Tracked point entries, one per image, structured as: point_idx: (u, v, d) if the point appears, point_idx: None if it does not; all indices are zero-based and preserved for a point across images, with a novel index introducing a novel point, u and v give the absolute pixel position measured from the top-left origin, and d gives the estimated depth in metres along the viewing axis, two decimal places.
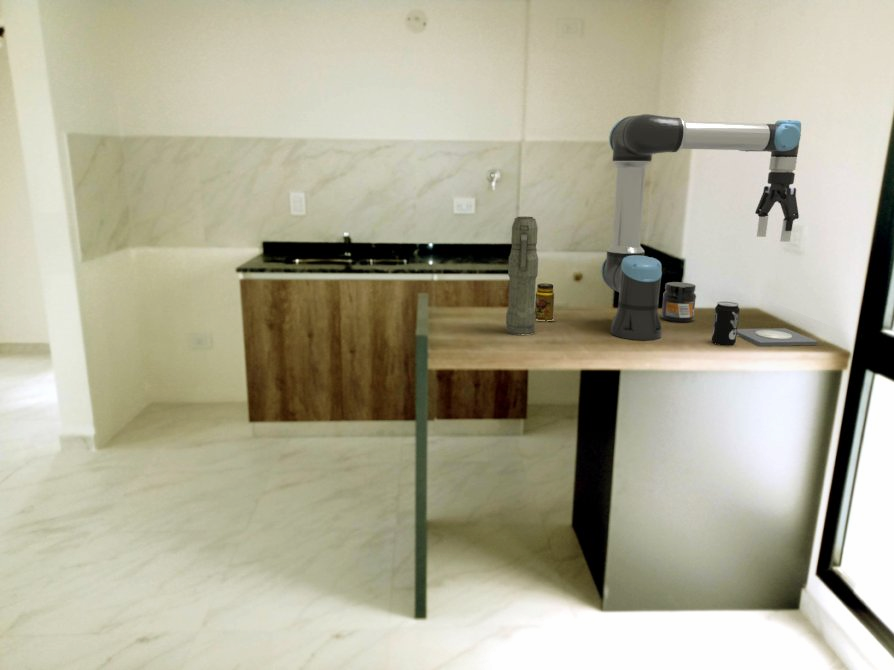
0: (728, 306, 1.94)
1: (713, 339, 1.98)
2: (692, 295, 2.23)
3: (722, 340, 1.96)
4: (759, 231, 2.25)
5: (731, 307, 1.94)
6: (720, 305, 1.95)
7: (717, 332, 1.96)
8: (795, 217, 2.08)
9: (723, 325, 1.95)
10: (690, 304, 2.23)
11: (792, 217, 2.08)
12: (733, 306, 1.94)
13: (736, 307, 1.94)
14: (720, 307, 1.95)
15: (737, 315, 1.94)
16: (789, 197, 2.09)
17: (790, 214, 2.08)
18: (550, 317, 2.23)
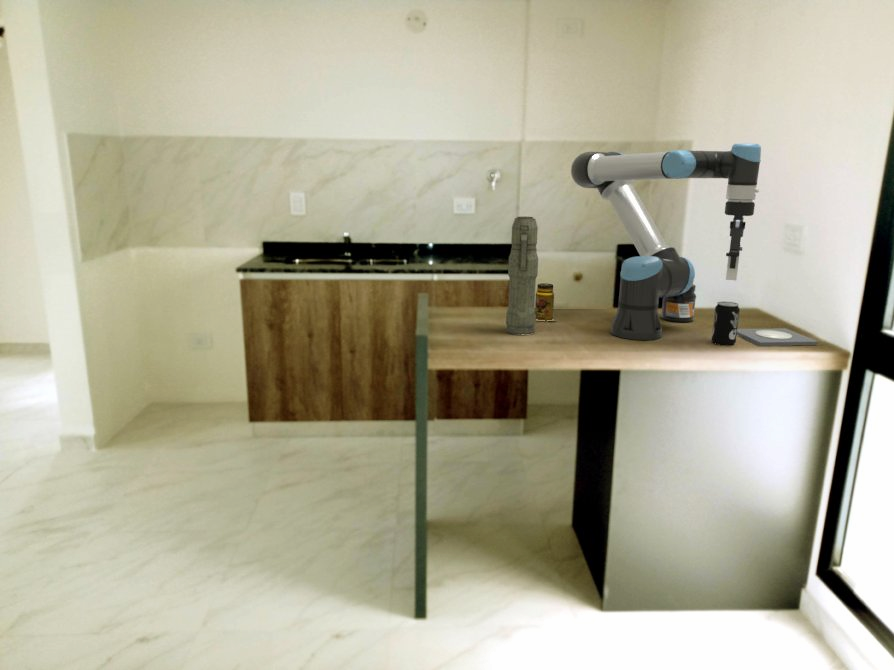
0: (728, 306, 1.94)
1: (713, 339, 1.98)
2: (692, 295, 2.23)
3: (722, 340, 1.96)
4: None
5: (731, 307, 1.94)
6: (720, 305, 1.95)
7: (717, 332, 1.96)
8: (734, 253, 1.83)
9: (723, 325, 1.95)
10: (690, 304, 2.23)
11: (731, 253, 1.84)
12: (733, 306, 1.94)
13: (736, 307, 1.94)
14: (720, 307, 1.95)
15: (737, 315, 1.94)
16: (733, 230, 1.85)
17: None
18: (550, 317, 2.23)
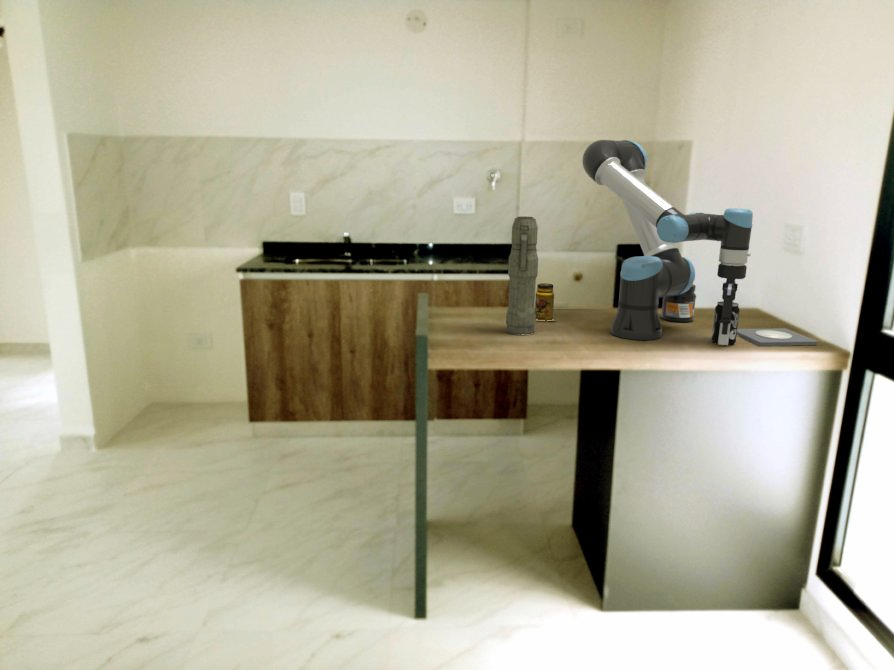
0: None
1: (713, 339, 1.98)
2: (692, 295, 2.23)
3: None
4: None
5: None
6: (720, 305, 1.95)
7: (717, 332, 1.96)
8: (726, 321, 1.91)
9: None
10: (690, 304, 2.23)
11: (722, 320, 1.91)
12: (733, 306, 1.94)
13: (736, 307, 1.94)
14: (720, 307, 1.95)
15: (737, 315, 1.94)
16: (724, 298, 1.90)
17: None
18: (550, 317, 2.23)
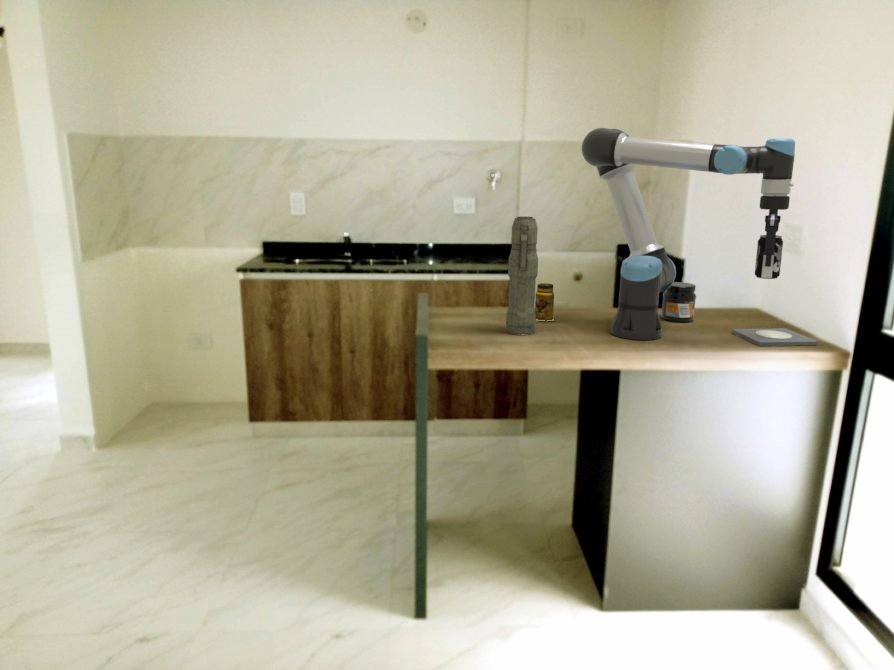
0: None
1: (756, 273, 1.97)
2: (692, 295, 2.23)
3: None
4: None
5: None
6: (763, 238, 1.94)
7: (761, 265, 1.95)
8: (769, 252, 1.90)
9: None
10: (690, 304, 2.23)
11: (766, 251, 1.90)
12: (776, 237, 1.92)
13: (779, 239, 1.92)
14: (763, 239, 1.94)
15: (781, 247, 1.93)
16: (767, 229, 1.89)
17: None
18: (550, 317, 2.23)
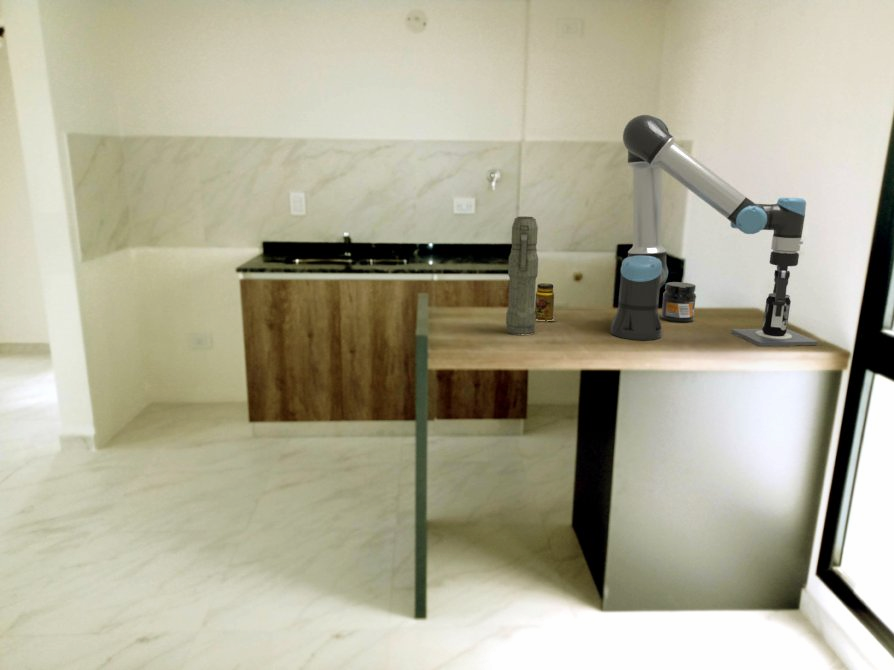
0: None
1: (764, 330, 2.04)
2: (692, 295, 2.23)
3: (773, 331, 2.01)
4: None
5: None
6: (772, 297, 2.01)
7: (769, 323, 2.02)
8: (780, 303, 1.93)
9: None
10: (690, 304, 2.23)
11: (777, 302, 1.93)
12: None
13: (787, 298, 1.99)
14: (772, 298, 2.00)
15: (788, 306, 2.00)
16: (779, 281, 1.94)
17: (775, 299, 1.94)
18: (550, 317, 2.23)
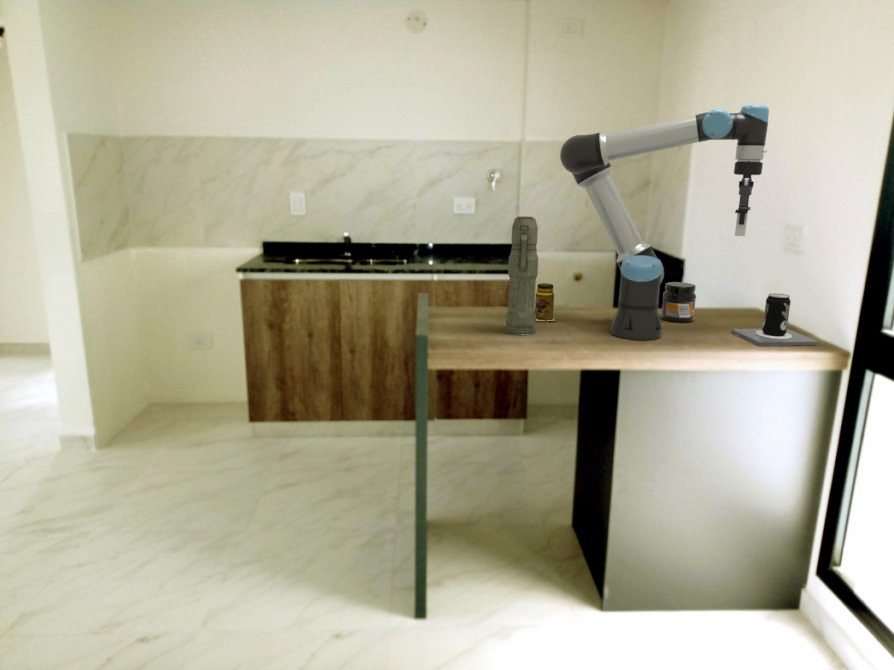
0: (780, 297, 1.99)
1: (764, 330, 2.04)
2: (692, 295, 2.23)
3: (773, 331, 2.01)
4: None
5: (783, 298, 1.99)
6: (772, 297, 2.01)
7: (769, 323, 2.02)
8: (743, 209, 1.93)
9: (774, 316, 2.00)
10: (690, 304, 2.23)
11: (740, 209, 1.93)
12: (785, 297, 1.99)
13: (787, 298, 1.99)
14: (772, 298, 2.00)
15: (788, 306, 2.00)
16: (742, 188, 1.94)
17: None
18: (550, 317, 2.23)
